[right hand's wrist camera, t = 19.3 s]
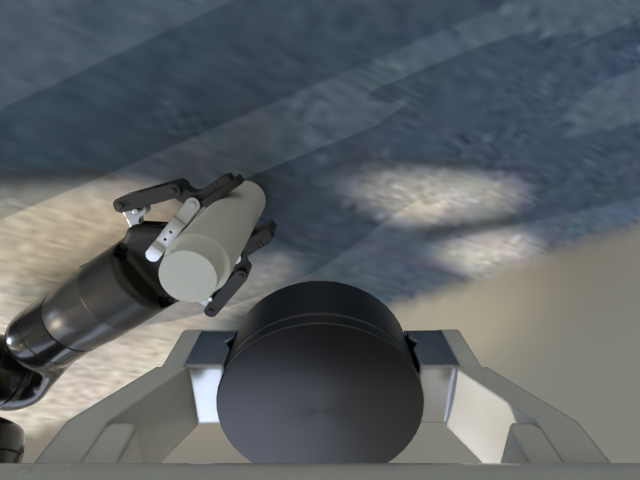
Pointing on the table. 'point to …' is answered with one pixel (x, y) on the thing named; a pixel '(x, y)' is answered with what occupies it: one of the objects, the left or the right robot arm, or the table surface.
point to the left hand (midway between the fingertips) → (256, 202)
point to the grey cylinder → (211, 245)
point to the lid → (320, 379)
